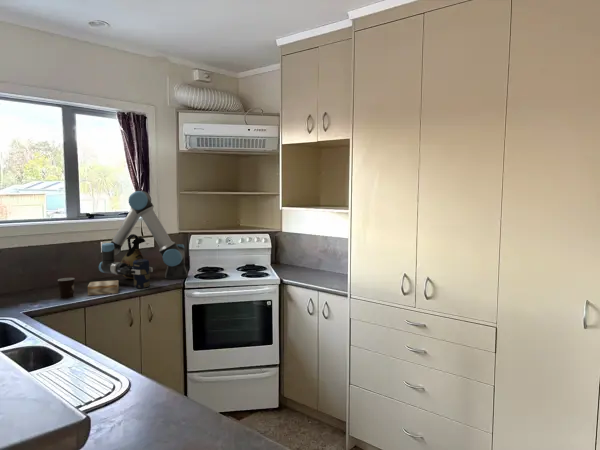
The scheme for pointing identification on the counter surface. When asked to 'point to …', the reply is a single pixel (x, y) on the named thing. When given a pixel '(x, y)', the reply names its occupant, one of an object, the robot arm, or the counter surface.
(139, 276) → the canister
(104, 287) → the dock
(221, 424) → the counter surface
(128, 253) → the ceramic jug
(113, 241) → the robot arm
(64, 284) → the coffee mug
